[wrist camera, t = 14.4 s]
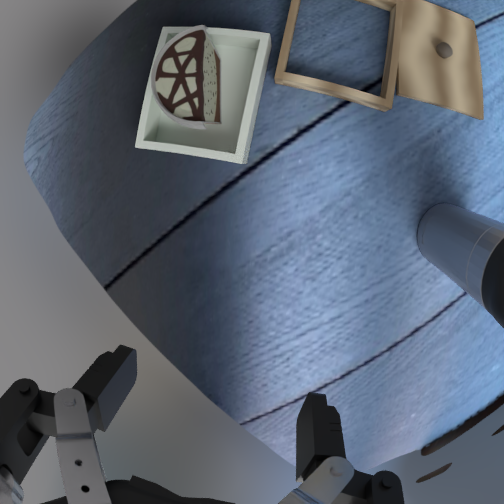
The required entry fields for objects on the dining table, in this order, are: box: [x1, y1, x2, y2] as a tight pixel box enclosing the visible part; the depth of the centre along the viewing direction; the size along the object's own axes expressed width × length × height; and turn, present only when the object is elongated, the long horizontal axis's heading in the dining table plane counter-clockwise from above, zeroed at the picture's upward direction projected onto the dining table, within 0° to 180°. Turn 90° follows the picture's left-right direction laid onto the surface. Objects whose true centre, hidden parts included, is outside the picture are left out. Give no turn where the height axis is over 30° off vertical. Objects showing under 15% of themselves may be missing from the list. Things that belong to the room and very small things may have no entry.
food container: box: [151, 25, 222, 129], centre depth 31 cm, size 12×6×10 cm, turn 1°
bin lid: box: [396, 0, 484, 120], centre depth 29 cm, size 15×18×2 cm
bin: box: [135, 27, 272, 164], centre depth 34 cm, size 14×17×5 cm
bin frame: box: [274, 0, 403, 112], centre depth 31 cm, size 15×18×3 cm
